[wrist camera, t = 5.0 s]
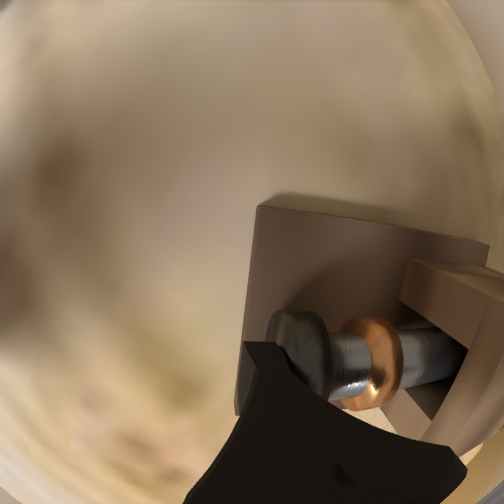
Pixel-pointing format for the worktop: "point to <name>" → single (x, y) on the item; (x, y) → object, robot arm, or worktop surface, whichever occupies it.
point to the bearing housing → (390, 308)
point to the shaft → (363, 356)
